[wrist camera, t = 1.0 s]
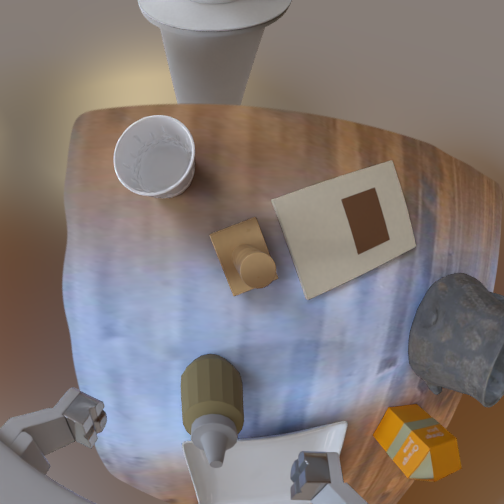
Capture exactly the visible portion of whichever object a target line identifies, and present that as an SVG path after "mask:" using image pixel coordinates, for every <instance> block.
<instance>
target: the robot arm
mask: <svg viewBox="0 0 504 504" xmlns="http://www.w3.org/2000/svg"><path fill="white" fill-rule="evenodd" d="M190 1H193V2H198V3H205V4H221V3H229V2H234V1H238V0H190ZM103 408H104V403H103V402H102V401H100V400H98V399H96V398H94V397H92V396H89V395H87V394H85V393H83V392H82V391H80V390H78V389H76V388H73V387H72V388H70V389H69V390H68V391H67V392H66V394H65V395H64V396H63V397H62V398H61V399H60V401H59V402H58V403H57V404H56V405H55V406H54V408H53V409H51V408H47V409H43V410H40V411H36V412H33V413H29V414H25V415H21V416H17V417H13V418H10V419H9V420H8V421H7V422H6V423H5V424H4V425H3V426H2V427H1V429H0V504H96V503H93V502H92V501H89V500H88V499H85V498H84V497H82V496H80V495H78V494H76V493H74V492H73V491H71V490H69V489H67V488H66V487H64V486H62V485H61V484H59V483H57V482H56V481H54V480H53V479H51V478H50V477H48V476H47V475H46V473H47V471H48V470H49V468H50V464H49V462H48V461H47V459H46V458H45V455H47V454H49V453H51V452H54V451H56V450H58V449H60V448H63V447H65V446H67V445H69V444H71V443H73V442H75V441H77V442H79V443H81V444H83V445H85V446H87V447H89V448H92V447H93V445H94V444H95V442H96V441H97V439H98V437H97V433H100V432H102V431H103V429H104V427H105V425H106V421H107V416H106V413H105V412H104V410H103ZM290 479H291V480H292V482H293V485H292V486H291V487H290V493H291V500H307V501H310V502H311V503H312V504H368V503H367V502H366V501H365V500H364V499H363V498H362V497H361V496H360V495H359V494H358V493H357V492H356V491H355V490H354V489H353V488H352V487H351V486H350V485H349V484H348V483H344V481H343V476H342V470H341V464H340V459H339V454H338V453H337V452H316V451H301V452H300V453H299V455H298V459H297V460H295V461H294V463H293V464H292V467H291V473H290Z"/></svg>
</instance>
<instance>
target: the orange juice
mask: <svg viewBox="0 0 504 504" xmlns="http://www.w3.org/2000/svg"><path fill="white" fill-rule="evenodd" d="M373 436H374V437H375V439H376V440H377V441H378V442H379V444H380V445H381V446H382V447H383V449H384V450H385V451H386V453H387V454H388V455H389V456H390V458H391V459H392V460H393V461H394V462H395V463H396V465H397V466H398V467H399V468H400V469H401V471H402V472H403V473H404V474H405V475H406V477H407V478H409V479H416V480H425V481H433V482H436V481H438V480H440V479H442V478H444V477H446V476H448V475H450V474H452V473H454V472H456V471H458V470H460V469H461V462H460V456H459V451H458V445H457V440H456V439H457V438H455V437H454V436H453V435H452V434H451V433H450V432H448V431H447V430H446V429H445V428H444V427H443V426H442V425H440V423H438V422H437V421H436V420H435V419H434V418H433V417H431V416H430V415H429V414H428V413H426V412H425V411H424V410H423V409H422V408H421V407H419V406H418V405H417V404H413V405H405V406H396V407H388V409H387V411H386V413H385V415H384V416H383V418H382V420H381V422H380V424H379V425H378V427H377V429H376V431H375V432H374V434H373Z"/></svg>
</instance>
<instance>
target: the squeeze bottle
mask: <svg viewBox="0 0 504 504" xmlns="http://www.w3.org/2000/svg"><path fill="white" fill-rule="evenodd" d="M181 401H182V417H183V425H184V427H185V429H186V431H187V432H188V433H189V434H190V435H191V440H192V442H193V444H194V445H195V446H196V447H198V448H199V449H200V450H203V451H205V454H206V456H207V459H208V462H209V464H210V466H211V467H213V468H220V467H222V466H223V461H224V456H225V451H226V450H228V449H230V448H232V447H233V446H234V445H235V444H236V443H237V438H238V435H237V434H238V433H239V432H240V431H241V430H242V427H243V423H244V412H243V387H242V380H241V376H240V373H239V372H238V371H237V370H236V369H235V368H234V367H233V365H231V364H230V363H229V362H228V361H227V360H226V359H225V358H223V357H221V356H219V355H214V354H207V355H202V356H200V357H198V358H197V359H195V360H194V361H193V362H192V363H191V364H190V365H189V366H188V367H187V368H186V370H185V371H184V373H183V374H182V376H181Z"/></svg>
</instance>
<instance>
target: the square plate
mask: <svg viewBox="0 0 504 504" xmlns="http://www.w3.org/2000/svg"><path fill="white" fill-rule="evenodd" d="M347 426H348V422H347V421H340V422H336V423H332V424H326V425H322V426H317V427H312V428H308V429H304V430H300V431H295V432H290V433H285V434H279V435H272V436H264V437H254V438H241V439H237V443H236V444H235V445H234V446H233V447H232V448H230V449H228V450H226V451H225V456H224V461H223V466H222V467H220V468H213V467H211V466H210V464H209V462H208V459H207V456H206V454H205V451H203V450H200V449H199V448H198V447H196V446H195V445H194V444H193V442H192V441H185V442H183V443H182V448H183V453H184V456H185V460H186V463H187V466H188V469H189V472H190V475H191V479H192V482H193V485H194V488H195V492H196V495H197V499H198V503H199V504H310V503H311V502H310V501H307V500H291V493H290V487H291V486H292V485H293V482H292V480H291V479H290V473H291V467H292V464H293V463H294V461H295V460H297V459H298V455H299V453H300V452H301V451H316V452H337V453H338V454H339V456H340V453H341V449H342V446H343V442H344V439H345V435H346V431H347Z"/></svg>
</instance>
